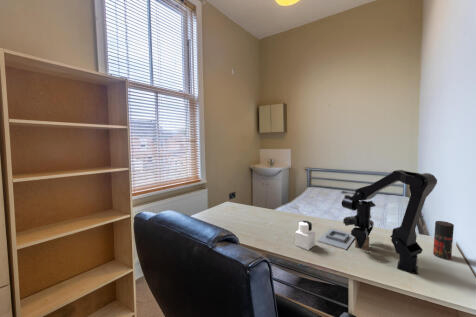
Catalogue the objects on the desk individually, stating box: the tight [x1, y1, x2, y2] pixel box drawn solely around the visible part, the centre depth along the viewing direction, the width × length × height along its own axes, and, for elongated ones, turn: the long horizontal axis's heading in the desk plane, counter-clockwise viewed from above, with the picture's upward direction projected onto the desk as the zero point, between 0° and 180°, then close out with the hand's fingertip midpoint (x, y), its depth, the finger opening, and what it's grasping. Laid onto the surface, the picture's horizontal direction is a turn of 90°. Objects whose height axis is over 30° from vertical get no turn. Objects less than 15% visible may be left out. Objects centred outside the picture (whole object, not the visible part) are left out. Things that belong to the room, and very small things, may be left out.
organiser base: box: [316, 227, 355, 250], centre depth 116 cm, size 20×14×2 cm
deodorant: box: [432, 220, 455, 261], centre depth 97 cm, size 6×6×15 cm
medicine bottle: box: [294, 220, 316, 251], centre depth 109 cm, size 7×7×12 cm
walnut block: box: [354, 236, 370, 251], centre depth 107 cm, size 5×5×5 cm
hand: (362, 244), depth 107 cm, fingers open, 9 cm apart
